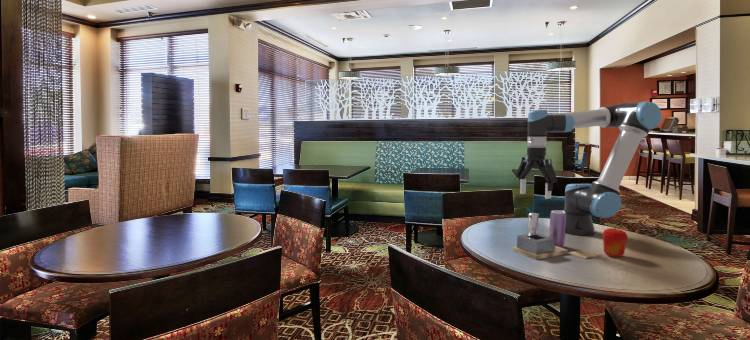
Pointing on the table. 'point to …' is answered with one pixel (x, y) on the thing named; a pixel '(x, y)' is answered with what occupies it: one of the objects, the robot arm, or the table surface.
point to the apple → (614, 242)
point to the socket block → (536, 243)
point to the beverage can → (558, 227)
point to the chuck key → (533, 223)
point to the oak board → (539, 256)
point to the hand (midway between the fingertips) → (535, 196)
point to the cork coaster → (583, 254)
